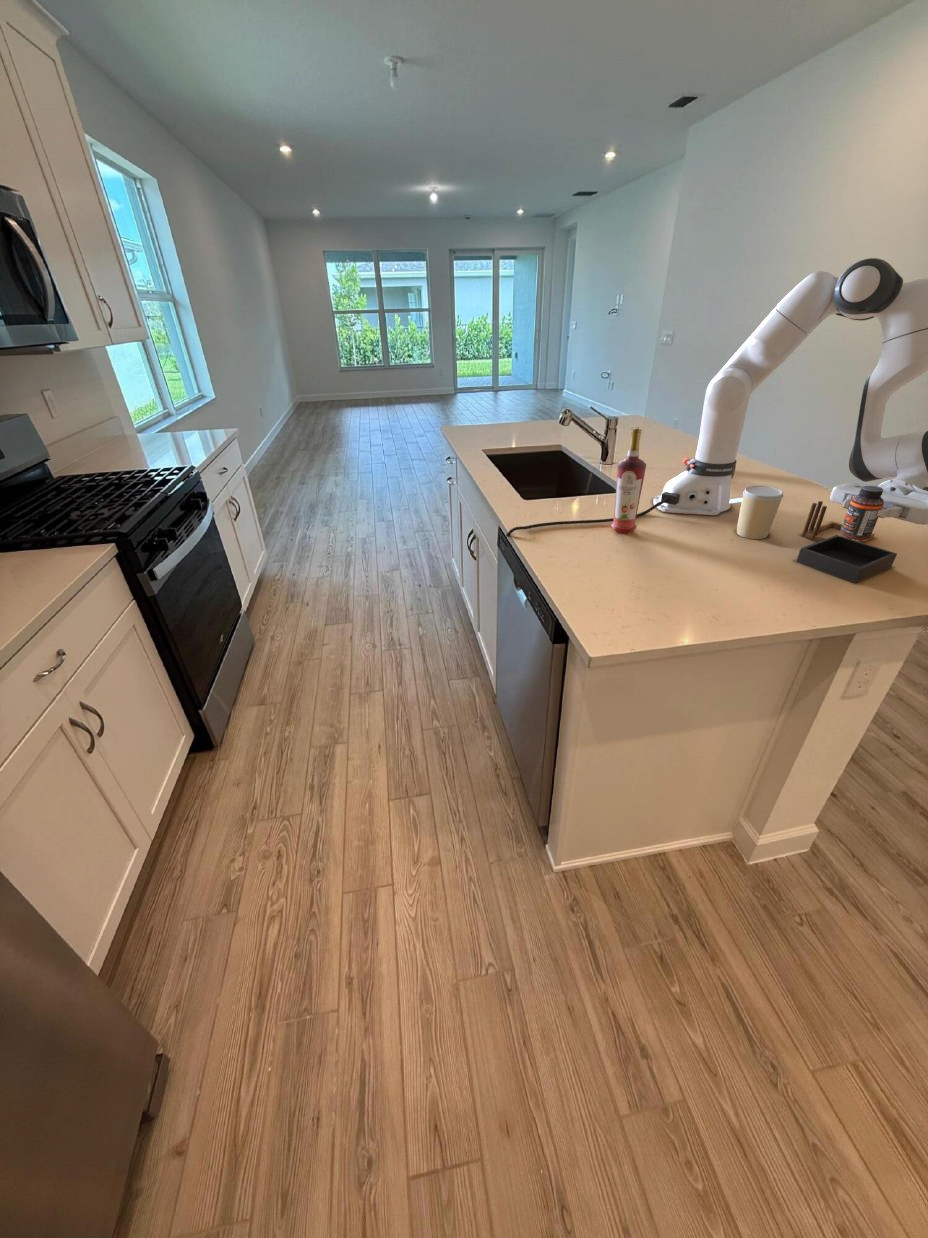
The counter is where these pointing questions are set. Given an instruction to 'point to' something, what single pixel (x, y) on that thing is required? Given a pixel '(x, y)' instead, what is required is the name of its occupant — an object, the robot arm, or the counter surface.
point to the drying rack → (814, 531)
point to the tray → (846, 558)
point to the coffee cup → (758, 511)
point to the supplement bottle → (862, 513)
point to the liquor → (629, 486)
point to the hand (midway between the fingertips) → (862, 509)
